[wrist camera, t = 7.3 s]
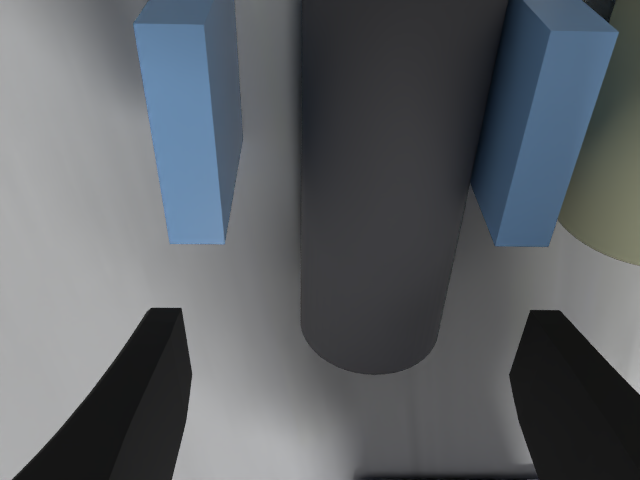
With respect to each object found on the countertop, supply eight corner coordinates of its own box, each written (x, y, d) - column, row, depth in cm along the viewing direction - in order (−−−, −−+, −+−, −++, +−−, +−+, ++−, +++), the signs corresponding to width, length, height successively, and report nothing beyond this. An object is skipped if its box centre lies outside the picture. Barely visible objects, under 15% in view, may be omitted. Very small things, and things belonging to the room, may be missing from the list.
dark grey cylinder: (397, 262, 18) (465, 349, 15) (280, 293, 17) (333, 392, 14) (451, -138, 12) (583, -106, 9) (272, -133, 10) (364, -95, 8)
